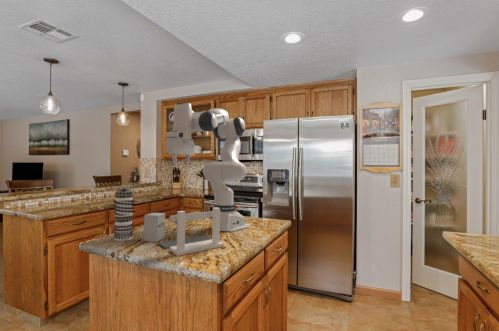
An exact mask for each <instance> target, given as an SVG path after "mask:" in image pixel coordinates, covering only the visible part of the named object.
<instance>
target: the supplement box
mask: <svg viewBox="0 0 499 331" xmlns="http://www.w3.org/2000/svg"><path fill="white" fill-rule="evenodd" d="M143 220H144V221H143V224H144V225H143V241H144V242H152V243H153V242H154V243H157V242H159V241H161V240H163V239H165V238H166V236H165V235H166V233H165V232H166V229H165V228H166V213H165V212H150V213H148V214H144V218H143Z"/></svg>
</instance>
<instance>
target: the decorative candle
mask: <svg viewBox="0 0 499 331" xmlns="http://www.w3.org/2000/svg"><path fill="white" fill-rule="evenodd" d="M114 192H115V199H114V200H113V203H114V205H113V207H114V208H113V210H114V212H113V214H114V217H115V218H114V220H115V221H114V229H113V230H114V231H113V237H114V238H113V240H114V241H116V242H124V241H130V240H132V239H133V238H134V237H133V235H134V233H133V232H134V231H133V228H134V227H133V225H134V224H133V215H134V210H133V209H134V207H133V206H134V205H135V203H134V202H135V200H134V199H133V190H132V189H131V188H130V187H119V188H117V189H116V191H114Z"/></svg>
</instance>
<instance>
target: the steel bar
mask: <svg viewBox="0 0 499 331" xmlns="http://www.w3.org/2000/svg"><path fill="white" fill-rule="evenodd" d="M220 213H221V211H220ZM210 217H213V210H209V211H208V210H207V211H200V212H191V213H185V222H186V221H192V220H193V221H194V220H201V219H209V218H210ZM174 222H177V214H171V215H169V223H174Z"/></svg>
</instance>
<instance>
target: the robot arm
mask: <svg viewBox="0 0 499 331" xmlns="http://www.w3.org/2000/svg"><path fill="white" fill-rule="evenodd" d="M229 116H230V115H229V113H228V111H227V110H226V109H224V108H211V109H209V110H207V111H200V112H198V111H197V112H195V111H193V109H192V104H191V103H190V102H187V101H185V102H184V101H183V102H177V103H175V104H174V107H173V114H172V121H173V126H172V130H170V131H167V132H166V133H165V138H166V139H165V152H166V154H171V156H170V157H171V159H172V164H175V165H178V161H179V160H177V156H178V155H181V156H182V155H183V156H184V158H185V159H184V160H183V164H184V165H189V161H190V158H191V157H192V156H195V154H196V152H195V151H196V146H195V142H194V139H193V137H192V132H210V133H211V132H212V134H213V136H214V137H215V138H216V139H218V140H224V139H225V140H224V141H225V142H224V143H223V146H222V149H221V152H220V155H219V157H220V159H221V161H212V162H207V163H205V164H204V165H203V168H202V174H203V176H204V178H205V179H206V180H207V181H208V182H209V183H210V185H211V186H212V189H213V194H214V195H213V196H214V204H213V208H216V207H218V208H220V211H221V213H220V232H229V233H230V232H231V233H233V232H235V231H240V230H245V229H249V228H250V227H249V224H247V223H246V222H245V221H246V219H245V217H244V215H243V214H241V213H240V212H239V211H237V209H239V208H240V206H239V205H238V204H234V193H235V192H234V190H233V189H232V188H231V187H229V186H227V185H226V184H225V181H226V182H237V181H243V180H244V179H245V177H246V175H247V168H246V166H245V164H244V163H242V162H241V161H240V160H239V156H240V152H241V151H240V150H241V146H242V145H241V144H242V143H241V140H240V138H241V137H242V136H243V134H244V132H245V130H246V123H245V120H244V119H243V118H242V117H240V116H238V117H233V118H230V117H229ZM210 229H211V230H212V226H211V228H210Z"/></svg>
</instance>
